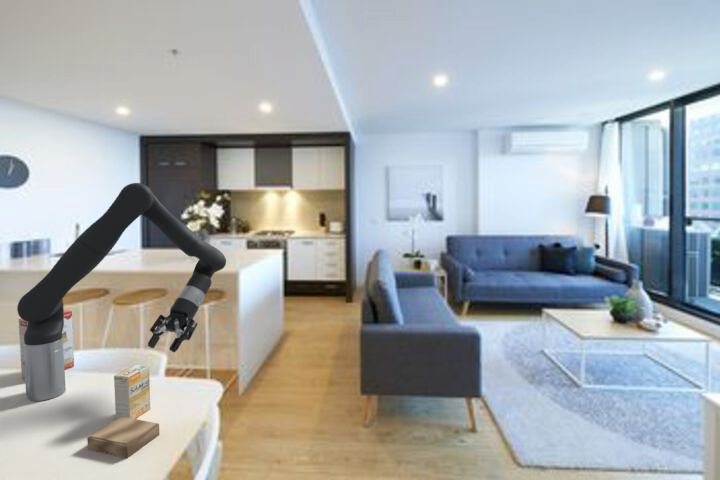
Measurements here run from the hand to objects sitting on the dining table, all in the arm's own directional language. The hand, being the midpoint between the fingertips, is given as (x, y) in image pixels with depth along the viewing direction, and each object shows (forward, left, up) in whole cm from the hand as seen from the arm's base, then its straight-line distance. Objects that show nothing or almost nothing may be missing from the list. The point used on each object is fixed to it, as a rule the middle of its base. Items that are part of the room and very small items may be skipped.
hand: (161, 349), depth 123 cm
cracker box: (-51, +4, -16) cm, 53 cm away
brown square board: (+7, -21, -16) cm, 27 cm away
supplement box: (-1, -10, -16) cm, 19 cm away
